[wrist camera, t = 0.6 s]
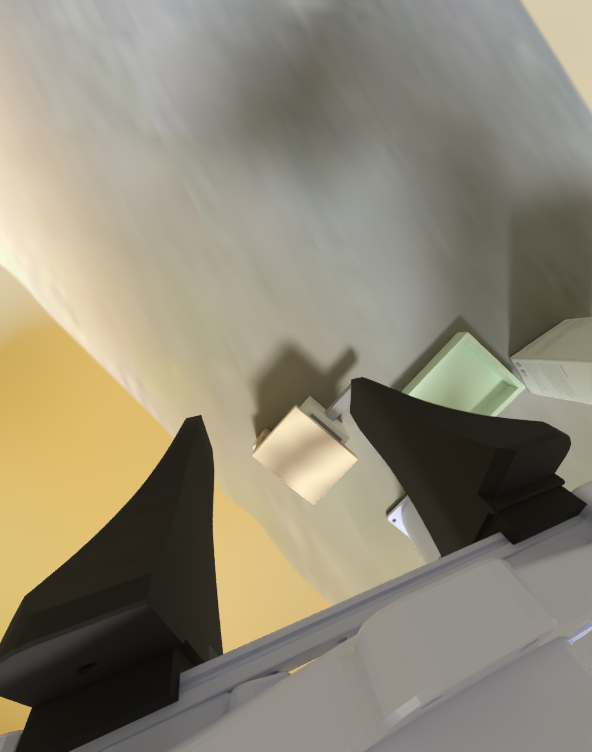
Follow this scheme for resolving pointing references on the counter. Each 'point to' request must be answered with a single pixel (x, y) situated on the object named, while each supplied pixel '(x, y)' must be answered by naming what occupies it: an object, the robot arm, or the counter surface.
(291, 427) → the beige block
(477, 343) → the tray
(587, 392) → the skincare box
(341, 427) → the white block with post
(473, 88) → the counter surface
